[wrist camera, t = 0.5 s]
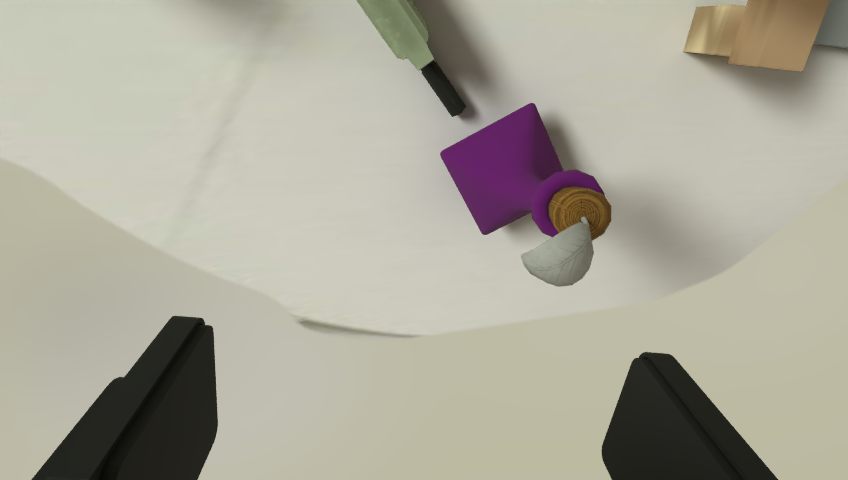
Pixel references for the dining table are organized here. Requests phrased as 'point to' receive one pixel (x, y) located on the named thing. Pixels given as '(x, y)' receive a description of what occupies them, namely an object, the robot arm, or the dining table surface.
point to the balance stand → (834, 25)
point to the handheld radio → (411, 44)
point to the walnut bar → (777, 33)
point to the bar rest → (714, 29)
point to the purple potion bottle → (530, 193)
